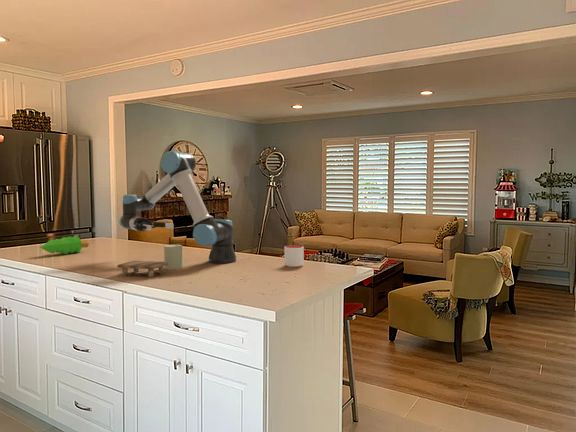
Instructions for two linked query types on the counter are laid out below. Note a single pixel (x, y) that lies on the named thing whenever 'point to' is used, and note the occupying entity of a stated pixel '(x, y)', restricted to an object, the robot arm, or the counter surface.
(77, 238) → the decorative tree
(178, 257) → the grey-green block
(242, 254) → the counter surface
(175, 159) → the robot arm
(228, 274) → the counter surface
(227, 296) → the counter surface
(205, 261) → the counter surface
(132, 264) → the wooden pallet
